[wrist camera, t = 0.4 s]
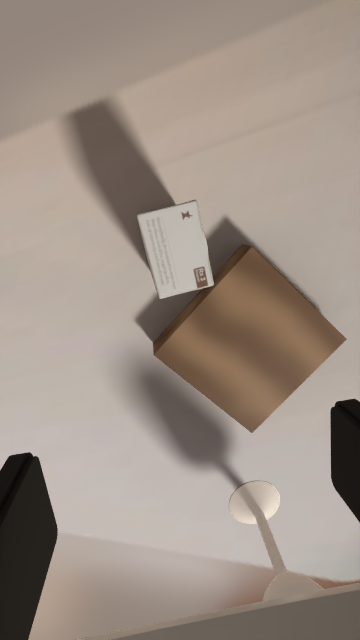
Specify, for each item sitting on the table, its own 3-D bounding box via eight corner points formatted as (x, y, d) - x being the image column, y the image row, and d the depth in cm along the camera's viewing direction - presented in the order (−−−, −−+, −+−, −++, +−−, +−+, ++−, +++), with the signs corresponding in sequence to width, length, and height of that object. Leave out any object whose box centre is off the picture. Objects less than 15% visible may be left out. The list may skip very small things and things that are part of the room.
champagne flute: (273, 474, 43) (416, 758, 20) (285, 514, 45) (428, 817, 22) (222, 490, 43) (307, 794, 20) (236, 530, 45) (328, 850, 22)
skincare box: (136, 216, 34) (129, 211, 22) (180, 205, 34) (197, 194, 22) (152, 277, 35) (153, 301, 24) (194, 266, 36) (216, 286, 24)
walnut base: (241, 244, 36) (252, 246, 32) (327, 328, 39) (346, 339, 35) (153, 341, 38) (153, 355, 34) (242, 413, 41) (251, 433, 37)
